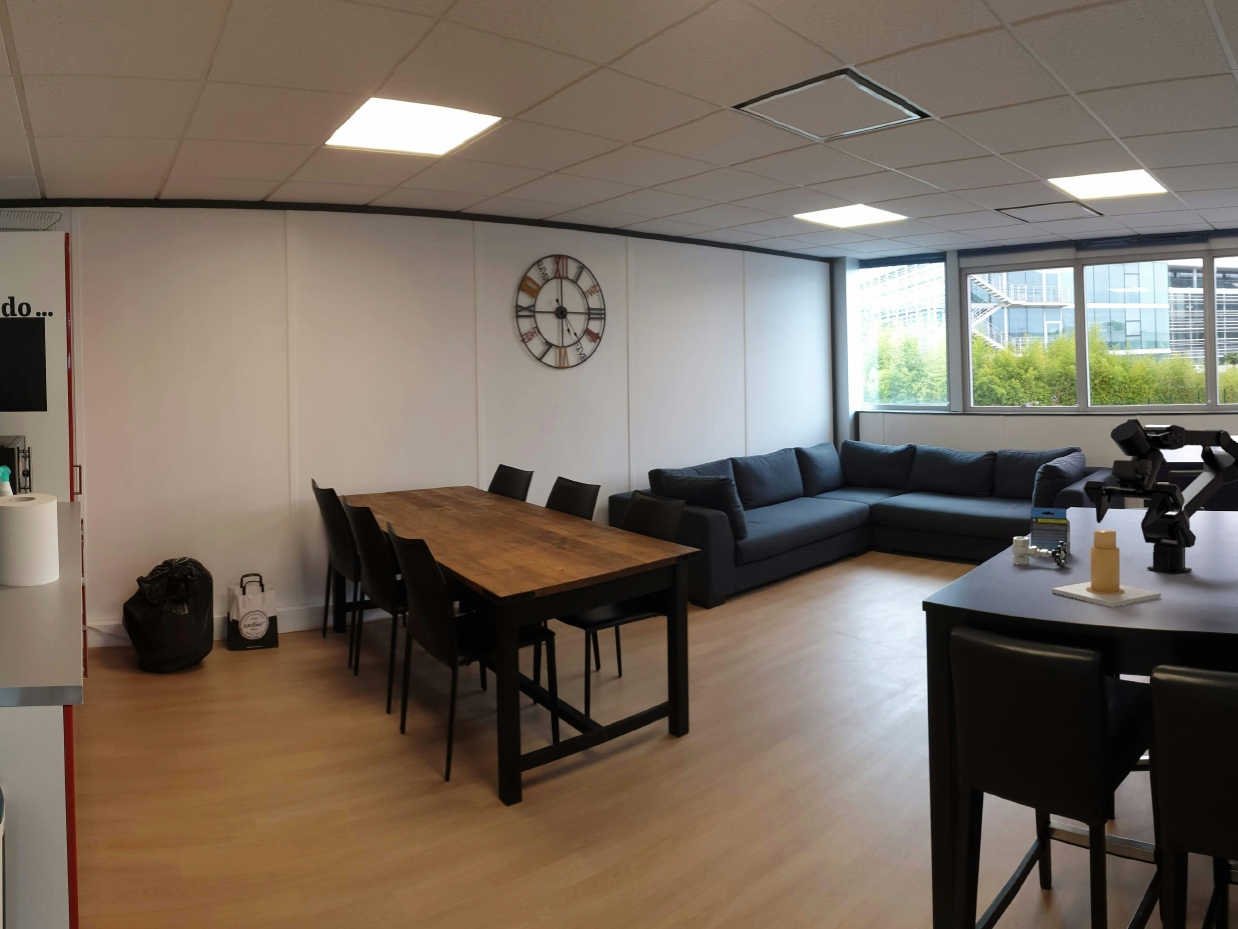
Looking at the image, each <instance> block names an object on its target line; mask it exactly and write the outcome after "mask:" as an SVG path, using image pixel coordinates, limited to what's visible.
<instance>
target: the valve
mask: <svg viewBox="0 0 1238 929" xmlns="http://www.w3.org/2000/svg"><path fill="white" fill-rule="evenodd" d="M1012 540H1013V541H1012V544H1013V545H1012V549H1011V554H1012V556H1013V563H1018V564H1027V565H1030V558H1032V559H1037V558H1038V557H1040V556H1041V557H1043V558H1049V557H1051V558H1052V559H1054V562H1055V563H1056V567H1058V568H1060V567H1062V568H1061V569H1065V568H1064V567H1066V564H1068V559H1067V556H1068V555H1069V554H1068V551H1066V548H1067V543H1065V542H1064V541H1059V544H1061V546H1057V547H1056V550H1052V552H1049V550H1047V549H1042V550H1040V549H1038V547H1037V546H1032V547H1031V546H1030V538H1029V537H1026V536H1014V537H1012ZM1018 564H1017V565H1018Z"/></svg>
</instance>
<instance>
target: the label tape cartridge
mask: <svg viewBox="0 0 1238 929" xmlns="http://www.w3.org/2000/svg"><path fill="white" fill-rule="evenodd" d="M1047 512H1049V513H1051V514H1044V513H1047ZM1052 513H1053V514H1052ZM1070 523H1071V522H1070V521H1069V520H1068V518H1067V508H1054V507H1053V508H1052V507H1031V506H1030V547H1032V546H1037V547H1038V549H1040V550H1042V549H1047V550H1049V552H1052V550H1056V547H1057V546H1061V544H1059V541H1064V542H1065V543H1067V548H1066V551H1068V555H1069V554H1070V553H1071V524H1070Z"/></svg>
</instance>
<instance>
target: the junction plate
mask: <svg viewBox="0 0 1238 929" xmlns="http://www.w3.org/2000/svg"><path fill="white" fill-rule="evenodd" d="M1051 593H1052V594H1054V593H1056V594H1055V595H1058V594H1060V595H1059V596H1062V595H1064V596H1063V597H1067V596H1068V597H1067V598H1071V597H1073V598H1072V599H1075V598H1077V599H1076V600H1079V599H1080V601H1083V600H1084V602H1088V603H1091V602H1093V604H1096V603H1097V604H1096V605H1100V604H1101V606H1104V605H1105V606H1104V607H1108V606H1109V607H1108V608H1116V607H1115V606H1117V607H1121V606H1120V605H1122V606H1125V605H1124V604H1127V605H1130V604H1129V603H1132V604H1134V603H1133V602H1138V603H1141V602H1140V601H1143V602H1147V601H1146V600H1148V601H1151V600H1150V599H1153V600H1157V599H1156V598H1158V599H1161V598H1162V597H1161V596H1162V594H1161V593H1160V592H1157V591H1153V590H1152V591H1151V590H1147V589H1144V588H1143V589H1142V588H1139V587H1138V588H1137V587H1133V586H1128V585H1123V584H1120V591H1119V592H1116V593H1103V592H1096V591H1093V590H1091V581H1087V582H1081V583H1075V584H1070V585H1064V586H1058V587H1053V588H1051ZM1160 597H1161V598H1160Z"/></svg>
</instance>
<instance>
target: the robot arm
mask: <svg viewBox="0 0 1238 929" xmlns="http://www.w3.org/2000/svg"><path fill="white" fill-rule="evenodd" d="M1110 438H1111V439H1112V441H1113V442H1114V443H1115V444H1116V446H1117V447H1118V448H1119V450H1120V451H1121V452H1122V453H1123V454H1124V455H1125V456H1127V457H1131V458H1130V460H1125V459H1122V460H1121V459H1115V460H1113V465H1112V469H1111V473H1110V474H1111V475H1112V476H1114V477H1115V483H1116V485H1119V487H1117V486H1109V485H1108V482H1107V481H1106V480H1096V479H1095V480H1091V479H1090V480H1089V479H1088V480H1087V481H1086V482H1085V483H1084V486H1083V487H1082V488H1083V491H1084V492H1085V495H1086V496H1087V498H1088V499H1089V502H1090V503H1092V504H1094V505H1095V515H1096V516H1095V517H1096V519H1095V520H1096V522H1097V524H1101V522H1102V521H1103V519H1104V518H1105V516H1106V514H1107V512H1108V511H1109V509H1110V503H1111V501H1112V499H1113V497H1117V498H1118V497H1120V498H1128V499H1135V500H1146V501H1147V500H1148V501H1150V503H1149V506H1148V508H1147V510H1146V511H1145V514H1144V517H1143V519H1141V522H1140V528H1141V531H1142V535H1143V539H1144V543H1146V544H1153V549H1152V550H1153V551H1152V565H1151V566H1147V567H1146V569H1147V570H1150V571H1156V572H1160V573H1161V572H1162V573H1166V574H1170V575H1172V574H1173V575H1175V574H1180V573H1186V572H1193V568H1191V567H1186V548H1189V549H1190V548H1192V547H1194V546H1195V543H1196V539H1197V536H1196V535H1195V534H1194V532H1193V531H1192V530H1191V524H1190V523H1191V522H1190V519H1191V518H1192V516H1194V515H1195V513H1197V511H1199V510H1200V509H1201V508H1202V507H1203V506H1204V505H1205V504H1206V503H1207V502H1208V501H1209V500H1210V499H1211V498H1212V497H1213V496H1214V495H1215V494H1216V493H1217V492H1218V491H1219V490H1220V489H1222V487H1223V486H1224V485H1226V484H1229V483H1232V482H1236V481H1238V442H1237V441H1236V440H1234V439H1233V438H1232V437H1231V435H1230V433H1229V432H1228V431H1226V430H1223V429H1204V430H1197V429H1196V430H1195V429H1190V430H1189V429H1187V428H1185V427H1184V426H1179V425H1176V424H1146V425H1144V427H1143V426H1142V424H1141V422H1140V421H1139V420H1138V418H1128V419H1127V421H1126V422H1124V423H1123V422H1122V423H1121V424H1119V425H1117V426H1116V427H1115V428H1113V429H1112V430H1111V432H1110ZM1186 446H1200V447H1201V448H1202V449H1201V454H1200V458H1201V460H1202V461H1203V463H1202V464H1203V471H1202V473H1201V474H1200V475H1198V476H1197V477H1196V478H1195V479H1194V480H1193V481H1192V482H1191V483H1190V484H1189V485H1188V486H1187V487H1186V488H1184V490H1183V491H1181V489H1180V487H1179V486H1178V484H1173V483H1157V479H1156V477H1157V475H1158V472H1159V470H1160V467H1165V466H1168V461H1167V460H1166V458H1165V457H1164V456H1165V455H1164V454H1163V452H1162V451H1161V450H1163V451H1164V450H1165V451H1174V450H1175V451H1176V450H1179V449H1180V450H1181V449H1183V448H1184V447H1186ZM1213 447H1215V448H1217V447H1219V448H1221V450H1222V451H1221V450H1220V451H1219V450H1213V449H1212V448H1213ZM1153 486H1155V488H1154V489H1152V487H1153Z"/></svg>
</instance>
